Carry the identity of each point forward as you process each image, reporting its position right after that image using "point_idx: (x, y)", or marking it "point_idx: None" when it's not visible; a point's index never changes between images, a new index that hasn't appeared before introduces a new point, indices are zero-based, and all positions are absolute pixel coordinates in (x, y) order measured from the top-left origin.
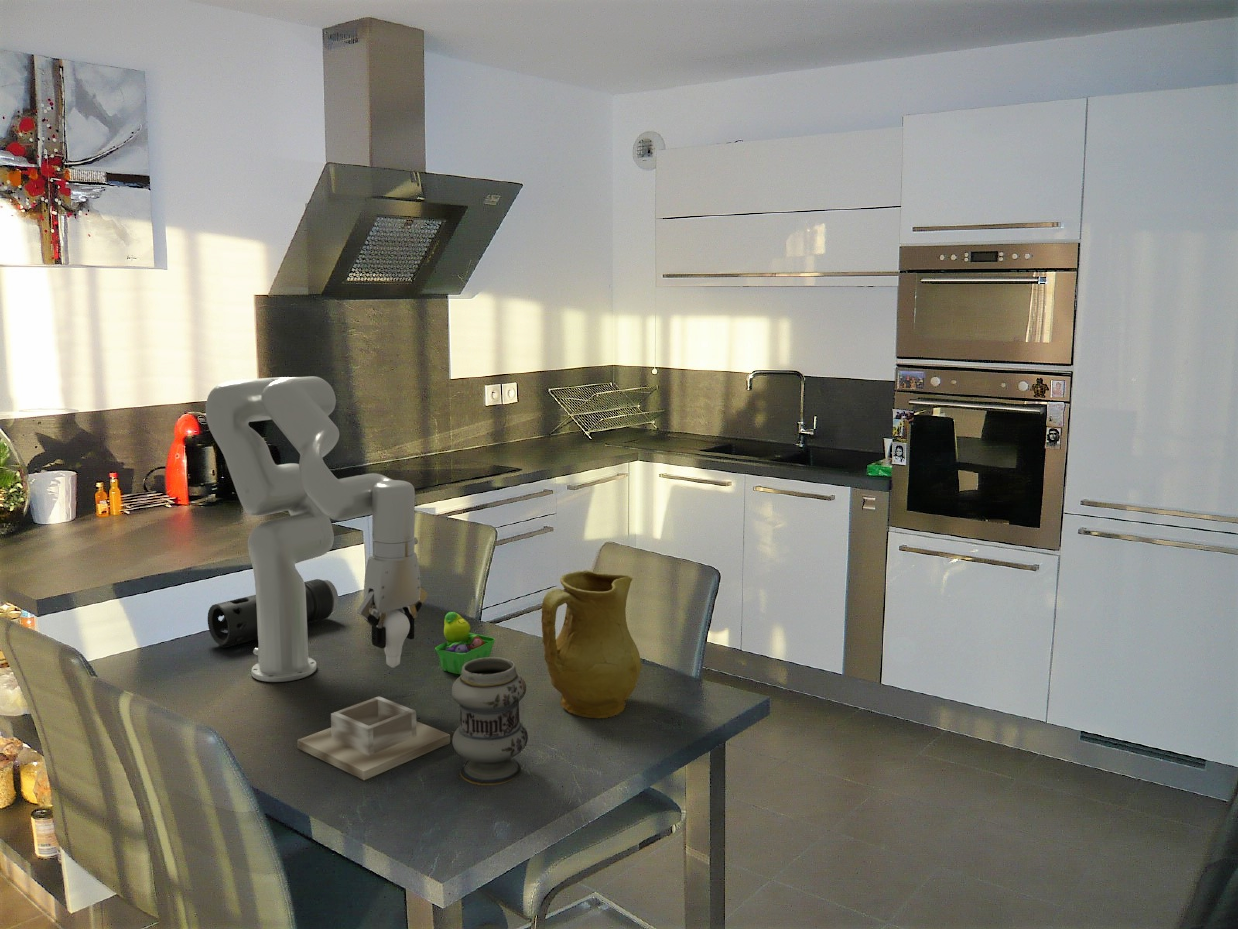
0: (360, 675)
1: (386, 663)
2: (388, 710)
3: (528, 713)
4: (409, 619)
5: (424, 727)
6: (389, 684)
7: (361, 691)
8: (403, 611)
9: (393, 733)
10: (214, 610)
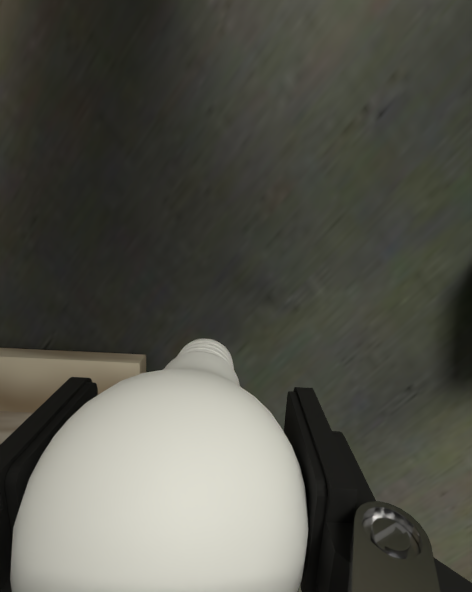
0: (311, 45)
1: (180, 351)
2: None
3: None
4: (310, 584)
5: None
6: (309, 194)
7: (218, 169)
8: (350, 562)
9: None
10: None
